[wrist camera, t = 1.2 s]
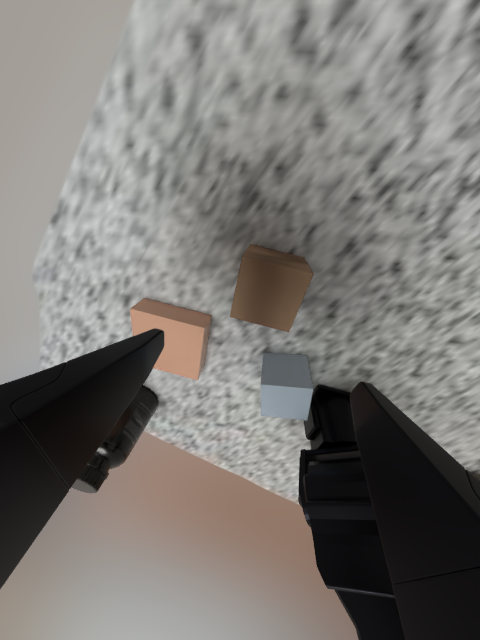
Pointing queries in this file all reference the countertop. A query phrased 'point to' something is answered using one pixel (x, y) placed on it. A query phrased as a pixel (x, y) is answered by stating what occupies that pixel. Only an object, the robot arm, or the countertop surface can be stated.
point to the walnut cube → (270, 287)
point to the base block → (175, 335)
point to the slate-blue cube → (286, 386)
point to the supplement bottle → (118, 441)
